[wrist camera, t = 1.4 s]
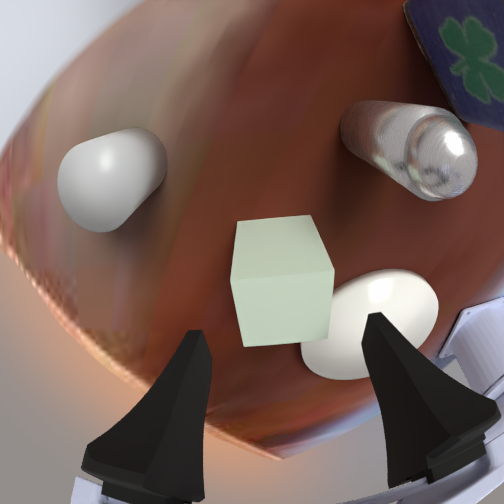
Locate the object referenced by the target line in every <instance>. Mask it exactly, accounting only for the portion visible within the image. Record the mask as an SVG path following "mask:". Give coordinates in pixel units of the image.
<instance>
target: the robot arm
mask: <svg viewBox="0 0 504 504" xmlns="http://www.w3.org/2000/svg"><path fill="white" fill-rule="evenodd" d="M361 346H362V351H363V356H364V360H365V364H366V367H367V370H368V373H369V376H370V379H371V382H372V384H373V387H374V390H375V393H376V396H377V399H378V402H379V406H380V410H381V415H382V420H383V426H384V433H385V440H386V450H387V466H388V467H387V468H388V486H389V489H390V488H393V487H396V486H399V485H402V484H405V483H408V482H410V481H411V482H412V483H409V484H406V485H403V486H401V487H398V488H395V489H392V490H389V491H386V492H382V493H379V494H376V495H372V496H368V497H365V498H361V499H357V500H352V501H348V502H343V503H338V504H389V503H392V502H394V501H398V500H399V501H398V502H397V503H396V504H476V503H477V502H478V501H480V500H481V499H482V498H484V497H485V496H486V495H487V494H489V493H490V492H491V491H492V490H494V489H495V488H496V487H498V486H499V485H500V484H501V483H502V482H504V297H501V298H498V299H495V300H492V301H489V302H486V303H483V304H480V305H477V306H474V307H470V308H467V309H464V310H462V312H461V313H460V315H459V317H458V319H457V322H456V324H455V326H454V328H453V330H452V332H451V334H450V336H449V338H448V339H447V341H446V343H445V345H444V347H443V349H442V350H441V352H440V354H439V358H440V359H442V358H445V357H448V356H451V355H453V354H454V355H455V357H456V359H457V361H458V363H459V365H460V367H461V369H462V371H463V373H464V374H465V377H466V379H467V381H468V383H469V385H470V387H471V389H472V390H471V389H469V388H467V387H465V386H464V385H462V384H461V383H459V382H458V381H456V380H454V379H453V378H451V377H450V376H448V375H447V374H446V373H444V372H443V371H442V370H440V369H439V368H438V367H437V366H435V365H434V364H433V363H432V362H430V361H429V360H428V359H427V358H426V357H425V356H424V355H423V354H422V353H420V352H419V351H418V350H417V349H416V348H415V347H414V346H413V345H412V344H411V343H410V342H409V341H408V340H407V339H406V338H405V337H404V336H403V335H402V334H401V332H400V331H399V330H398V329H397V328H396V327H395V326H394V325H393V324H392V323H391V322H390V321H389V320H388V319H387V318H386V317H385V315H384V314H383V313H382V312H376V313H370V314H368V317H367V321H366V326H365V330H364V334H363V337H362V341H361ZM211 375H212V356H211V354H210V351H209V348H208V345H207V343H206V340H205V337H204V334H203V331H202V330H189V331H188V332H187V333H186V335H185V336H184V338H183V340H182V342H181V343H180V345H179V347H178V348H177V350H176V352H175V353H174V355H173V357H172V358H171V360H170V361H169V363H168V364H167V366H166V367H165V369H164V370H163V372H162V373H161V375H160V376H159V377H158V379H157V380H156V382H155V383H154V384H153V386H152V387H151V388H150V389H149V391H148V392H147V393H146V394H145V395H144V397H143V398H142V399H141V400H140V401H139V402H138V403H137V404H136V406H135V407H134V408H133V409H132V410H131V411H130V412H129V413H128V414H127V415H125V416H124V417H123V418H122V419H121V420H120V421H119V422H117V423H116V424H115V425H114V426H113V427H112V428H110V429H109V430H108V431H107V432H105V433H104V434H102V435H101V436H99V437H98V438H97V439H95V440H94V441H92V442H91V443H89V444H88V445H87V448H86V451H85V454H84V458H83V462H82V466H81V469H82V470H83V471H84V472H86V473H88V474H90V475H92V476H94V477H96V478H98V479H100V480H103V485H100V484H98V483H95V482H92V481H90V480H87V479H85V478H82V477H80V476H76V479H75V484H74V488H73V493H72V498H71V503H70V504H192V502H200V501H202V500H203V499H204V498H205V494H204V479H203V433H204V421H205V414H206V408H207V402H208V396H209V390H210V384H211Z"/></svg>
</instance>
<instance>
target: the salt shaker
mask: <svg viewBox="0 0 504 504" xmlns="http://www.w3.org/2000/svg"><path fill="white" fill-rule="evenodd" d="M340 134H341V138H342V141H343V143H344V144H345V146H346V147H347V149H348V150H349V151H350V152H352V153H353V154H354V155H356V156H358V157H359V158H361V159H363V160H364V161H366V162H367V163H369V164H371V165H372V166H374V167H375V168H377V169H379V170H380V171H382V172H383V173H385V174H386V175H388V176H389V177H391V178H392V179H394V180H395V181H397V182H398V183H400V184H401V185H403V186H404V187H405V188H407V189H408V190H410V191H411V192H412V193H414V194H415V195H416V196H418V197H420V198H422V199H424V200H428V201H439V200H443V199H450V198H454V197H456V196H459V195H460V194H462V193H463V192H464V191H466V190H467V189H468V188H469V186H470V185H471V184H472V182H473V180H474V178H475V175H476V171H477V164H478V158H477V151H476V147H475V144H474V142H473V140H472V138H471V136H470V134H469V133H468V131H467V130H466V129H465V128H464V127H463V125H462V124H461V122H460V121H459V120H458V118H457V117H456V116H455V115H453V114H452V113H451V112H449V111H447V110H445V109H442V108H438V107H432V106H425V105H417V104H409V103H399V102H388V101H372V100H362V101H358V102H355V103H353V104H352V105H350V106H349V107H348V108H347V109H346V110H345V112H344V113H343V115H342V118H341V121H340Z"/></svg>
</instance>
